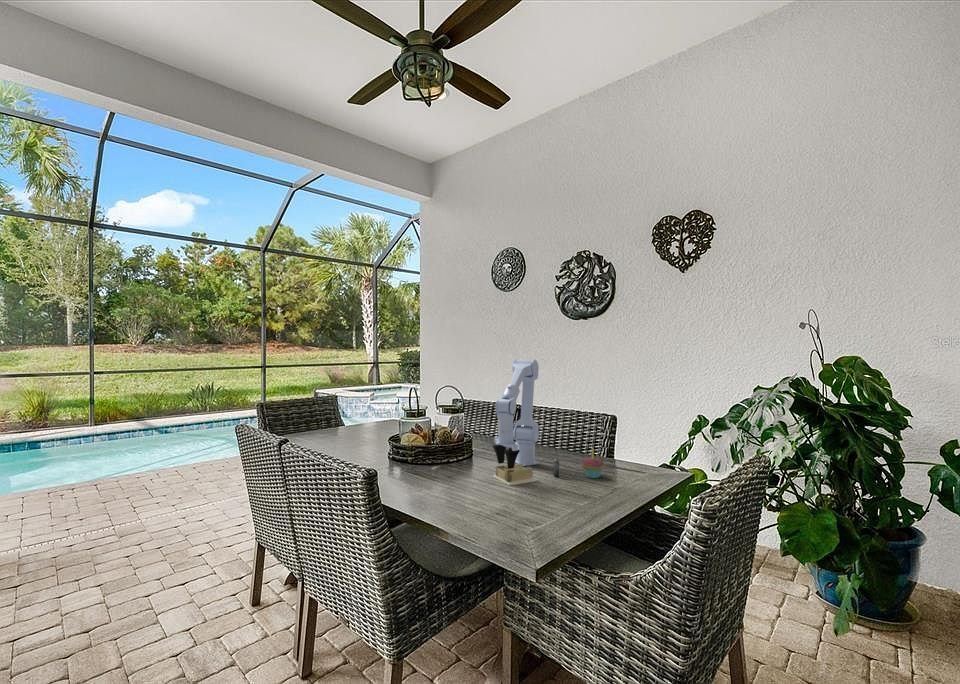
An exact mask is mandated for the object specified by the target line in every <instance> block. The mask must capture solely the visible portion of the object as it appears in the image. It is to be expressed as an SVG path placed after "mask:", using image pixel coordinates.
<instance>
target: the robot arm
mask: <svg viewBox="0 0 960 684" xmlns="http://www.w3.org/2000/svg"><path fill="white" fill-rule="evenodd" d="M539 367H540V366H539V363H538V361H537V359H518V358H517V359H516V358H515V359H514V360H513V361H512V377H511V380H510V383H509V384H506V386H505V388H504V390H503V393H502V394H501V397H500V398H499V399H497V400H496V402H495V406H494V408H495V412H496V413H495V414H496V418H497V420H498V421H497V422H498V423H497V424H498V426H497V427H498V428H497V430H498V431H497V433H498V434H497V435H498V437H495V438H494V443H495V444H493V445H492V448H493V450H494V453H495V455H496V460H497V463H498V465H501V464H504V463H505V459H506V463H507V464H506V465H508V468H509V469H511V468H514V465H515V464H518V463H521V464H523V467H527V466H534V465H535V466H536V465H539V464H540V462H538V461H536V459H535V458H536V457H535V455H536V454H535V453H536V452H535V451H536V450H535V448H536V447H535V445H536V444H535V443H537V442H538V441H539V438H540V431H539V423H537V422H536V421H535V420H534V418H533V414H534V413H533V410H534V409H533V408H534V388H535V381H536V380H538V379H539V369H540V368H539ZM521 383H522V384H521ZM521 385H522V390H521V391H520V386H521ZM520 392H521V408H520V418H519V419H518V420H517V421H516V422H515V423H514V415H515V413H516V409H517V408H516V407H517V399H518V397H519V395H520ZM514 440H515V441H514ZM507 448H508V449H507ZM505 456H506V457H505Z"/></svg>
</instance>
